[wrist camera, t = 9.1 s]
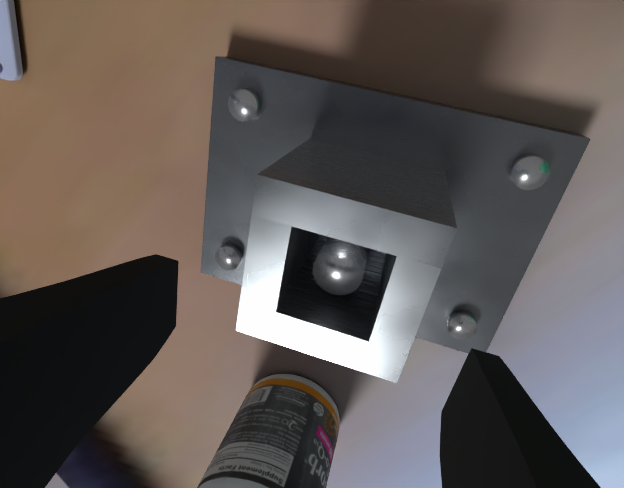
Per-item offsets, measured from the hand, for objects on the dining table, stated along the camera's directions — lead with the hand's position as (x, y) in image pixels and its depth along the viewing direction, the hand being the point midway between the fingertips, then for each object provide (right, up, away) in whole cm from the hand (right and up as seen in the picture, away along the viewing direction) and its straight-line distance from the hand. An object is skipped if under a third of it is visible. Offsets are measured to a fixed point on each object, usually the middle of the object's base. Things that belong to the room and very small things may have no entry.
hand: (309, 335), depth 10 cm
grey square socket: (+2, +3, +7) cm, 8 cm away
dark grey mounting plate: (+2, +4, +8) cm, 9 cm away
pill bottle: (-1, -7, +14) cm, 16 cm away
